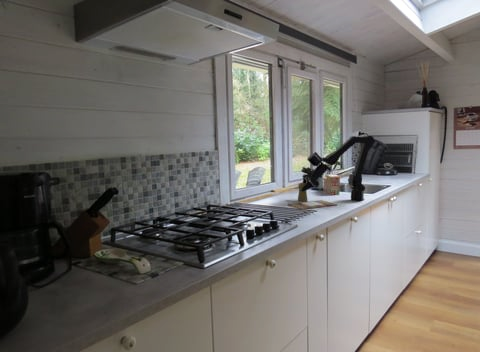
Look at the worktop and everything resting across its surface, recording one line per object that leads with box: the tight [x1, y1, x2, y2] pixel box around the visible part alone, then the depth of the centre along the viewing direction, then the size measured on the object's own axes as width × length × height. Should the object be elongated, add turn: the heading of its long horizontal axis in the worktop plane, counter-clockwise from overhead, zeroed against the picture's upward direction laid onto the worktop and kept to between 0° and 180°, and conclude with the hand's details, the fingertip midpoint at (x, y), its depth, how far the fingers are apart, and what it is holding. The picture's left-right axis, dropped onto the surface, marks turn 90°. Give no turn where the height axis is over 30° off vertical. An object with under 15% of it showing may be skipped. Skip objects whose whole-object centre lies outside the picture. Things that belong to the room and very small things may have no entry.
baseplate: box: [287, 199, 338, 211], centre depth 209 cm, size 24×14×1 cm, turn 117°
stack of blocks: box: [323, 174, 341, 196], centre depth 253 cm, size 21×6×12 cm, turn 179°
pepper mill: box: [297, 182, 309, 203], centre depth 221 cm, size 6×6×11 cm
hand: (300, 190), depth 221 cm, fingers closed on pepper mill, 5 cm apart
